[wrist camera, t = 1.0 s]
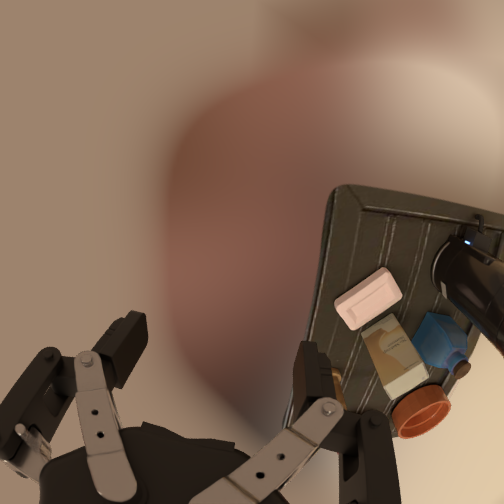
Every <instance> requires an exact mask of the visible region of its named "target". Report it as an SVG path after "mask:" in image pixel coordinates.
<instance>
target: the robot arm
mask: <svg viewBox="0 0 504 504" xmlns="http://www.w3.org/2000/svg"><path fill="white" fill-rule="evenodd" d="M475 218H476V219H477V220H479V228H478V231H476V230H473V229H471V228H469V227H467V229H466V232H465V235H464V238H459V237H456V236H454V235H450V237H449V240H448V241H447V242H446V243H445V244H444V245H443V246H442V247H441V248H440V249H439V251H438V252H437V254H436V256H435V258H434V261H433V264H432V268H431V279H432V283H433V285H434V287H435V288H436V289H437V290H438V291H439V292H441V293H442V294H443V296H444V297H445V298H446V299H447V298H448V299H449V300H450V301H451V302H452V303H453V304H454V305H455V306H456V307H457V308H458V309H459V310H460V311H461V312H462V313H463V314H464V315H465V316H466V317H467V318H468V319H469V320H470V321H471V322H472V323H473V324H474V325H475V326H476V327H477V328H478V329H479V330H480V331H481V333H482V334H483V335H484V336H485V337H486V338H487V339H488V340H489V341H490V342H491V343H492V344H493V345H494V347H495V348H496V349H497V350H498V351H499V352H500V354H501V355H502V356H503V358H504V261H502V260H500V259H499V258H497V257H495V256H494V255H492V254H490V253H489V252H488V250H489V247H490V244H491V241H492V238H490V237H488V236H486V235H484V234H482V231H483V225H484V219H483V216H482V215H480V214H478V215H476V216H475ZM147 343H148V331H147V322H146V315H145V314H144V313H141V312H137V311H132V310H131V311H130V312H129V313H128V315H127V316H126V317H125V318H122V317H121V318H119V319H117V320H116V321H114V322H113V323H112V324H111V326H110V327H109V329H108V330H107V331H106V332H105V334H103V336H102V337H101V338H100V339H99V341H98V342H97V343H96V345H95V346H94V347H93V348H92V350H91V351H84V352H81V353H79V354H78V355H77V356H76V357H65V356H61V353H60V351H59V350H58V349H57V348H55V347H46V348H44V349H42V350H41V351H40V352H39V353H38V354H37V356H36V357H35V358H34V359H33V361H32V362H31V363H30V365H29V366H28V367H27V368H26V370H25V371H24V372H23V374H22V375H21V376H20V378H19V379H18V380H17V382H16V383H15V384H14V386H13V387H12V389H11V390H10V392H9V393H8V394H7V396H6V397H5V399H4V400H3V401H2V403H1V404H0V460H1V461H2V462H3V463H4V464H5V465H7V466H8V467H9V468H10V469H12V470H13V471H15V472H16V473H17V474H18V475H20V476H21V477H23V478H30V479H31V480H33V481H35V482H36V483H38V484H39V486H40V501H39V504H289V503H288V501H287V500H286V499H285V498H284V497H283V495H282V494H281V493H280V491H281V490H282V489H283V488H284V487H285V486H286V485H287V484H288V483H289V482H290V481H291V480H292V479H293V478H294V477H295V476H296V475H297V474H298V472H299V471H300V470H301V469H302V468H303V467H304V466H305V465H306V464H307V463H308V462H309V461H310V459H311V458H312V457H313V456H314V455H315V454H316V453H317V451H318V450H319V449H320V448H324V449H327V450H330V451H334V452H337V453H339V504H401V495H400V487H399V479H398V472H397V465H396V458H395V452H394V447H393V441H392V436H391V431H390V426H389V421H388V418H387V417H386V416H385V415H384V414H383V413H382V412H380V411H377V410H368V411H366V412H364V413H363V414H362V415H360V414H356V413H353V412H349V411H347V410H345V409H344V408H343V406H342V404H341V403H340V402H339V401H337V398H336V392H335V386H334V380H333V376H332V375H333V374H332V370H331V363H330V360H329V358H328V357H327V355H326V354H325V353H318V350H317V343H316V342H309V341H301V343H300V346H299V349H298V352H297V356H296V360H295V362H294V368H293V402H294V424H293V425H292V426H291V427H286V428H284V429H283V430H282V431H281V432H280V433H279V434H278V435H277V436H276V437H274V439H272V440H271V441H270V442H269V443H268V444H266V445H265V446H264V447H263V448H262V449H261V450H260V451H258V452H257V453H256V454H255V455H254V456H252V457H250V456H248V455H247V454H245V453H244V452H242V451H240V450H237V449H234V446H235V443H234V442H227V441H222V440H216V439H187V438H184V437H182V436H180V435H178V434H176V433H174V432H172V431H170V430H168V429H166V428H164V427H160V426H157V425H153V424H150V423H147V422H143V423H142V425H141V427H128V428H123V427H122V424H121V421H120V418H119V415H118V412H117V408H116V405H115V401H114V398H113V394H112V390H113V388H114V387H116V388H119V389H122V388H123V386H124V384H125V383H126V381H127V379H128V377H129V375H130V374H131V372H132V370H133V368H134V367H135V365H136V363H137V361H138V360H139V358H140V356H141V354H142V353H143V351H144V349H145V348H146V346H147ZM49 386H50V387H49ZM48 388H49V389H48ZM47 389H48V390H47ZM46 391H47V392H46ZM44 394H45V395H44ZM74 397H76V403H77V409H78V415H79V420H80V425H81V430H82V435H83V439H84V443H85V446H83V447H81V448H78V449H76V450H73V451H71V452H69V453H66V454H64V455H61V456H59V457H57V458H54V459H52V460H51V447H50V445H49V443H50V441H51V439H52V437H53V435H54V434H55V431H56V430H57V428H58V426H59V424H60V422H61V420H62V418H63V416H64V415H65V413H66V411H67V409H68V407H69V406H70V404H71V402H72V400H73V399H74Z"/></svg>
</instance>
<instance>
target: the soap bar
mask: <svg viewBox="0 0 504 504" xmlns="http://www.w3.org/2000/svg"><path fill="white" fill-rule="evenodd" d="M401 297H402V293H401V291H400V289H399V288H398V286H397V284H396V282H395V280H394V278H393V277H392V275H391V273H390V272H389V271H388V269H387V268H385V267H382V268H380V269H379V270H377V271H376V272H375V273H373V274H372V275H371V276H369V277H368V278H366V279H365V280H363V281H362V282H361V283H359V284H358V285H356V286H355V287H353V288H352V289H351V290H349V291H348V292H346V293H345V294H343V295H342V296H340V297H339V298H337V299H336V300H335V302H334V305H335V308H336V310H337V312H338V313H339V314H340V316H341V317H342V318H343V320H344V321H345V323H346V324H347V325H348V327H349V328H350V329H351V330H356V329H358V328H359V327H361V326H362V325H364V324H365V323H367V322H368V321H370V320H371V319H373V318H374V317H376V316H377V315H379V314H380V313H382V312H383V311H385V310H386V309H388V308H389V307H390V306H392V305H393V304H395V303H396V302H397V301H399V300H400V299H401Z"/></svg>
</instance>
